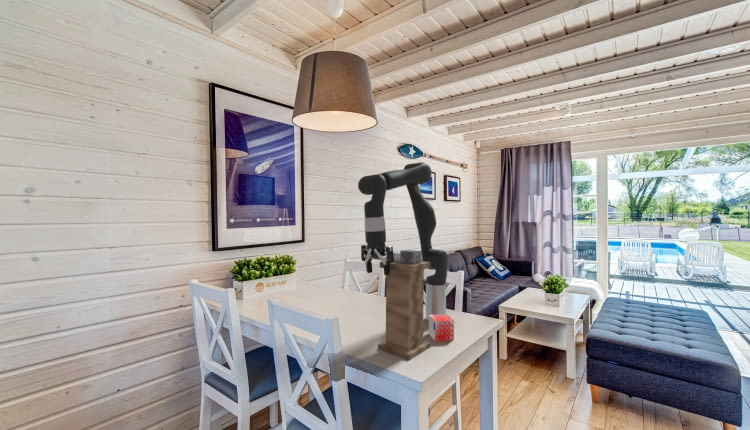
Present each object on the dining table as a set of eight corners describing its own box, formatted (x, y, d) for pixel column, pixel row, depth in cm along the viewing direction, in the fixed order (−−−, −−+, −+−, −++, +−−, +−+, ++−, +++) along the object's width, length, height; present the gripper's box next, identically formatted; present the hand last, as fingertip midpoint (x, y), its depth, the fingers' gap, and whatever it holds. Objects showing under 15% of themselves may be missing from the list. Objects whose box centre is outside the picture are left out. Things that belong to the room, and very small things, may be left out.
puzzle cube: (453, 340, 127) (454, 320, 127) (434, 341, 126) (435, 321, 126) (446, 332, 135) (446, 314, 135) (428, 333, 134) (428, 314, 134)
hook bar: (377, 257, 131) (377, 246, 131) (421, 263, 118) (421, 251, 118) (369, 258, 127) (369, 247, 127) (414, 264, 114) (414, 252, 114)
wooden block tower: (399, 337, 129) (400, 258, 129) (430, 347, 120) (431, 262, 120) (377, 348, 118) (378, 262, 118) (409, 359, 109) (410, 266, 109)
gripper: (396, 228, 115) (399, 273, 115) (368, 228, 124) (371, 270, 125) (382, 230, 109) (385, 277, 109) (354, 230, 119) (357, 273, 119)
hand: (378, 273), depth 117 cm, fingers open, 8 cm apart
